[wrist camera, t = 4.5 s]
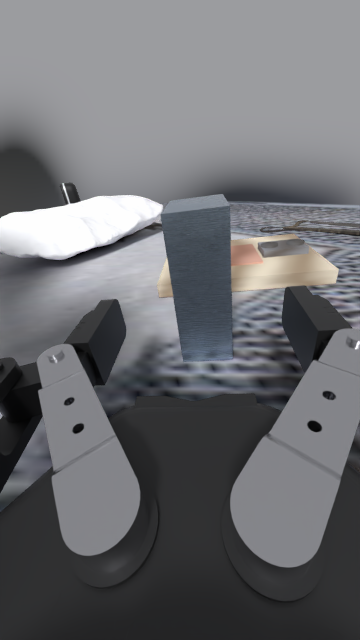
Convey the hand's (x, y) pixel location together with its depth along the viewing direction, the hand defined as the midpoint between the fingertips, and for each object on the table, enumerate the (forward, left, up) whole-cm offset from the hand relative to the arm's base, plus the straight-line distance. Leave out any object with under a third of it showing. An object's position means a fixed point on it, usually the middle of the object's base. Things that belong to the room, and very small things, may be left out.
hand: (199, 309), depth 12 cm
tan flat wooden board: (+4, +20, -6) cm, 22 cm away
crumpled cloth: (-24, +39, -6) cm, 46 cm away
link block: (0, +5, -6) cm, 8 cm away
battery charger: (-35, +62, -6) cm, 72 cm away
